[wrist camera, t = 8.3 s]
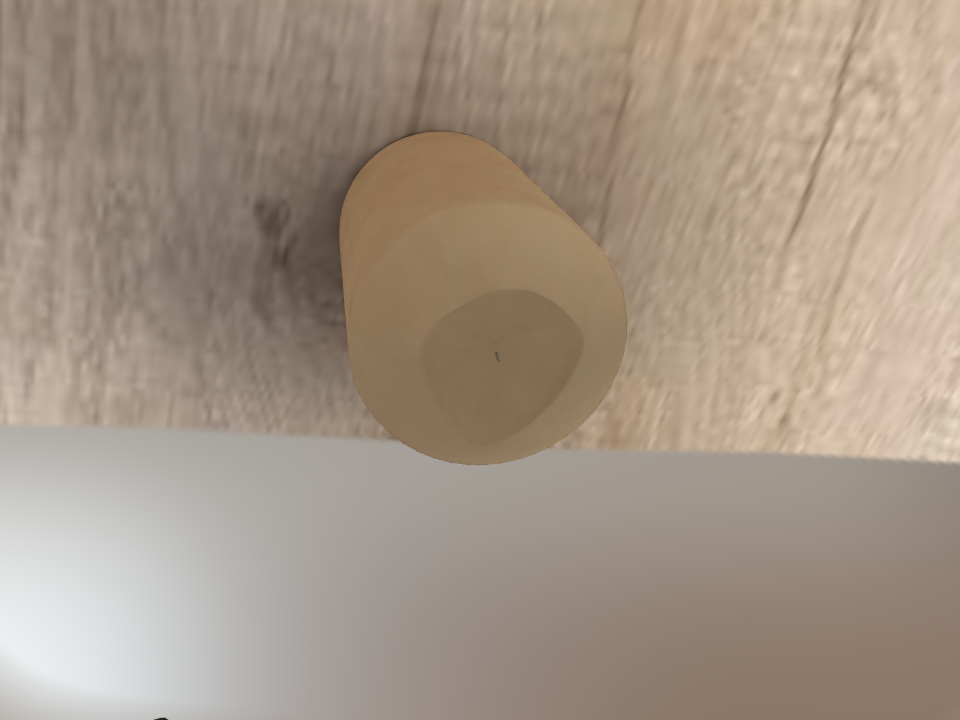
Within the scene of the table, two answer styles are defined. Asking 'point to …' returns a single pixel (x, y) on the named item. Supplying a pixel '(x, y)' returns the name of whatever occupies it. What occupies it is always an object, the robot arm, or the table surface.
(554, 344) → the candle
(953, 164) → the table surface
